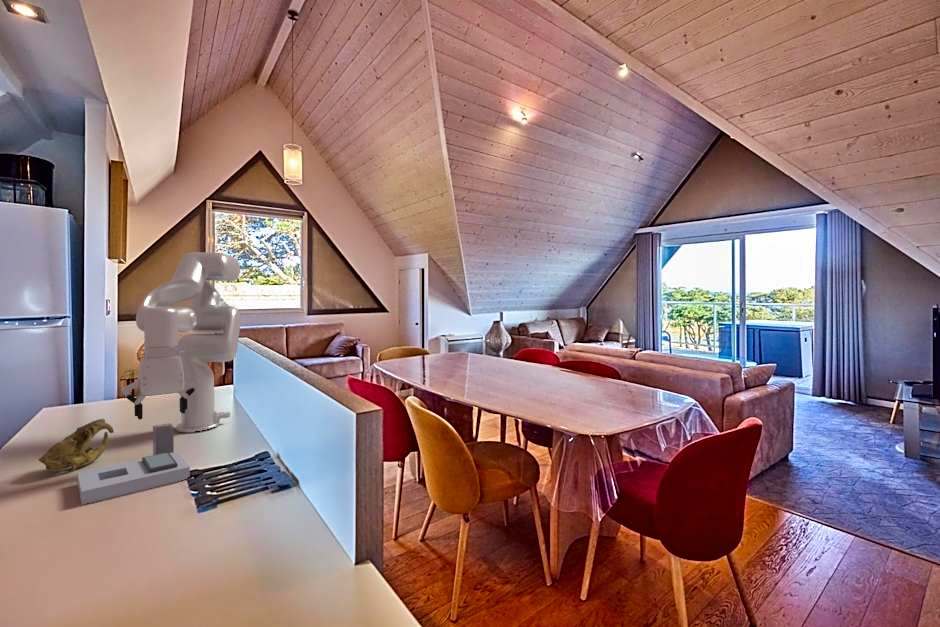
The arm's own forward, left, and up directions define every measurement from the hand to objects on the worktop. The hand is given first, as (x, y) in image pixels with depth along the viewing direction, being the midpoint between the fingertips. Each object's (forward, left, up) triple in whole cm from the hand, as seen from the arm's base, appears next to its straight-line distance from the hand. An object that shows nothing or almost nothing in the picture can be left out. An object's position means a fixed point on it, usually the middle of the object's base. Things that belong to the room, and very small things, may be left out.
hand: (161, 415), depth 120 cm
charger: (0, -1, -12) cm, 12 cm away
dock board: (+8, +12, -12) cm, 19 cm away
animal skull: (+17, -9, -12) cm, 23 cm away
